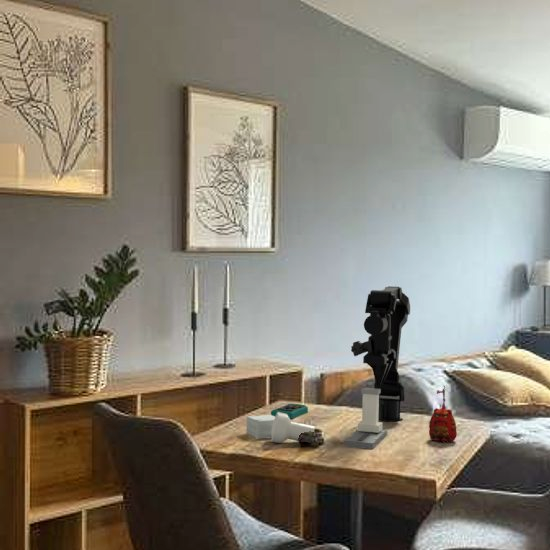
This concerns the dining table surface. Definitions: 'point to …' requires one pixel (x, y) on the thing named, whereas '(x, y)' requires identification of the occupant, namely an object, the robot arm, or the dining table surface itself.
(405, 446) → the dining table surface
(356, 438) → the fader console
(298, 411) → the digital multimeter
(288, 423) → the spotlight
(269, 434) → the small box
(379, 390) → the fader tab
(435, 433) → the red clay folk toy
